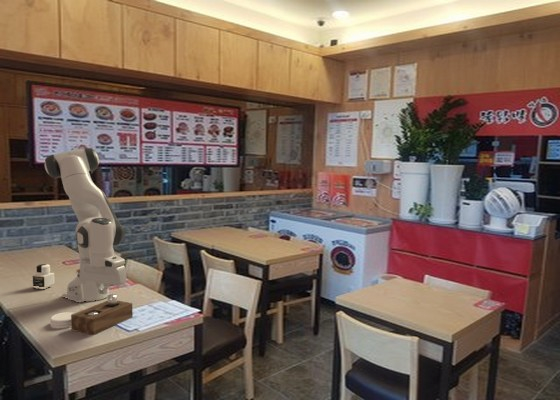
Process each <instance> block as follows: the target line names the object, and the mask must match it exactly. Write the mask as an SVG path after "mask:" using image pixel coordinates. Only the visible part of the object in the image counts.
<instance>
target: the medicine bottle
mask: <svg viewBox="0 0 560 400" xmlns="http://www.w3.org/2000/svg"><path fill="white" fill-rule="evenodd" d="M55 281H56V279H55V272H51V265H50V264H48V263H43V264H38V265H37V266H36V274H32V286H39V287H46V286H49V285H51V284H54V283H55ZM55 284H56V283H55Z"/></svg>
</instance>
